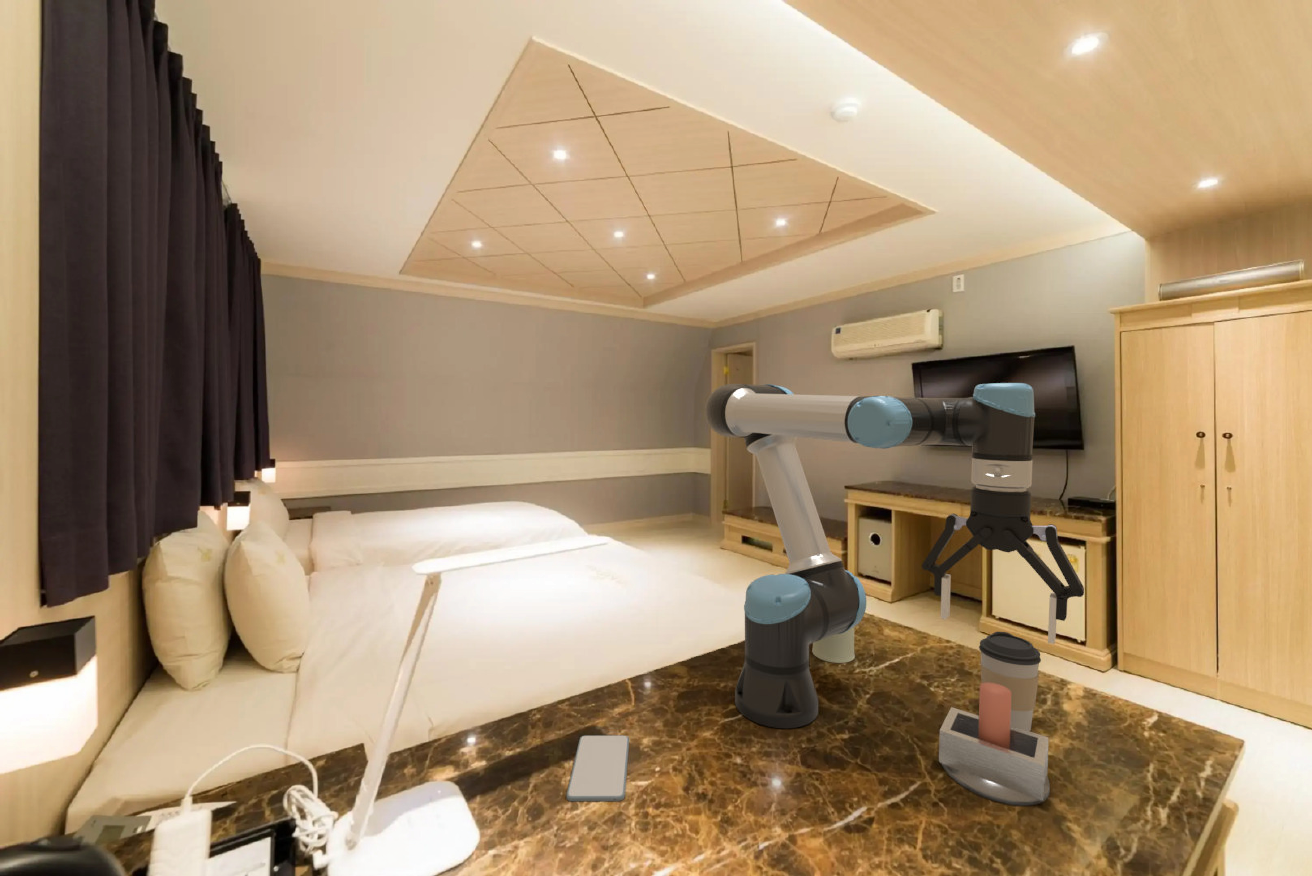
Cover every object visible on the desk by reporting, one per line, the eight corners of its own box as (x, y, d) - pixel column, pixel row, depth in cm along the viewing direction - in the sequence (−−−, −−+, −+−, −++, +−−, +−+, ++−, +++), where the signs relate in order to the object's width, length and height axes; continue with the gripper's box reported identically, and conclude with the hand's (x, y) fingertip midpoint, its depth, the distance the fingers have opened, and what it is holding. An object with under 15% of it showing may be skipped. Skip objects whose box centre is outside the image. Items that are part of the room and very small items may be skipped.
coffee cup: (1049, 741, 89) (1052, 652, 88) (989, 734, 91) (991, 648, 90) (1023, 711, 98) (1026, 630, 97) (969, 706, 100) (971, 627, 99)
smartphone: (629, 734, 90) (624, 797, 75) (629, 740, 90) (624, 803, 75) (580, 734, 90) (565, 797, 75) (580, 740, 90) (565, 804, 75)
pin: (975, 767, 81) (977, 690, 80) (980, 754, 84) (982, 679, 83) (1007, 779, 78) (1009, 699, 78) (1010, 765, 81) (1012, 688, 81)
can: (813, 660, 118) (814, 607, 117) (810, 643, 127) (811, 593, 126) (857, 665, 116) (858, 610, 115) (851, 647, 125) (852, 596, 124)
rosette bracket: (930, 776, 80) (931, 737, 80) (950, 733, 91) (951, 699, 91) (1045, 821, 71) (1047, 778, 71) (1052, 768, 82) (1053, 730, 82)
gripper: (903, 482, 84) (900, 615, 85) (1111, 499, 68) (1104, 661, 69) (916, 478, 90) (912, 602, 91) (1110, 493, 74) (1103, 642, 75)
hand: (995, 628), depth 80 cm, fingers open, 13 cm apart
